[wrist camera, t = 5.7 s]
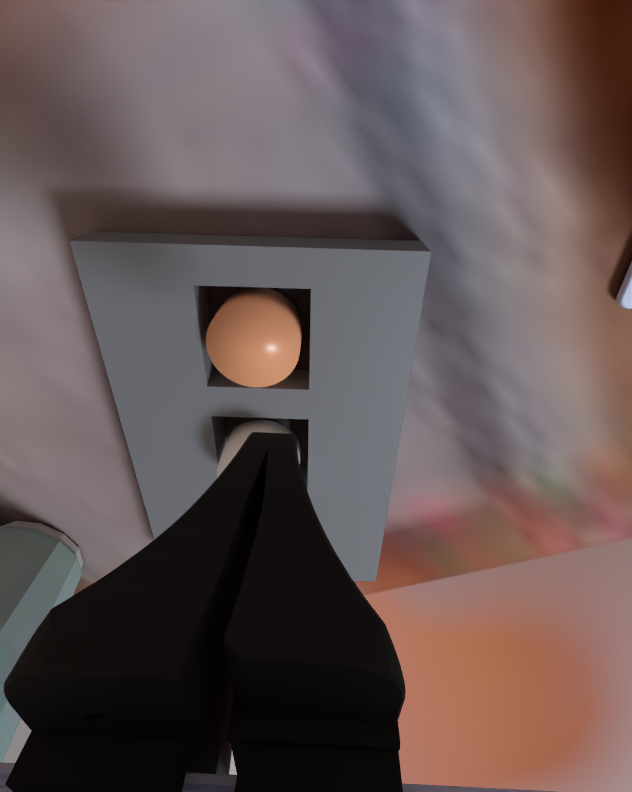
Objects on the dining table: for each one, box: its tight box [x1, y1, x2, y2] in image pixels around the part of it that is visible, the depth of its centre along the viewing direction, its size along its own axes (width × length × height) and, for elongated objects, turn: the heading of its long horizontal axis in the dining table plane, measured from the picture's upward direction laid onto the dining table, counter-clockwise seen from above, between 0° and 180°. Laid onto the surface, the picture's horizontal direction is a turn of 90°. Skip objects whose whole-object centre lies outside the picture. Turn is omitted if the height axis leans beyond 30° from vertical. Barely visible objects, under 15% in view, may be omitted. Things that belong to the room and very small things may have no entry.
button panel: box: [69, 231, 431, 581], centre depth 22 cm, size 14×21×2 cm, turn 179°
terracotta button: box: [206, 287, 302, 387], centre depth 18 cm, size 4×4×2 cm
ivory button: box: [217, 420, 301, 477], centre depth 21 cm, size 4×4×2 cm
